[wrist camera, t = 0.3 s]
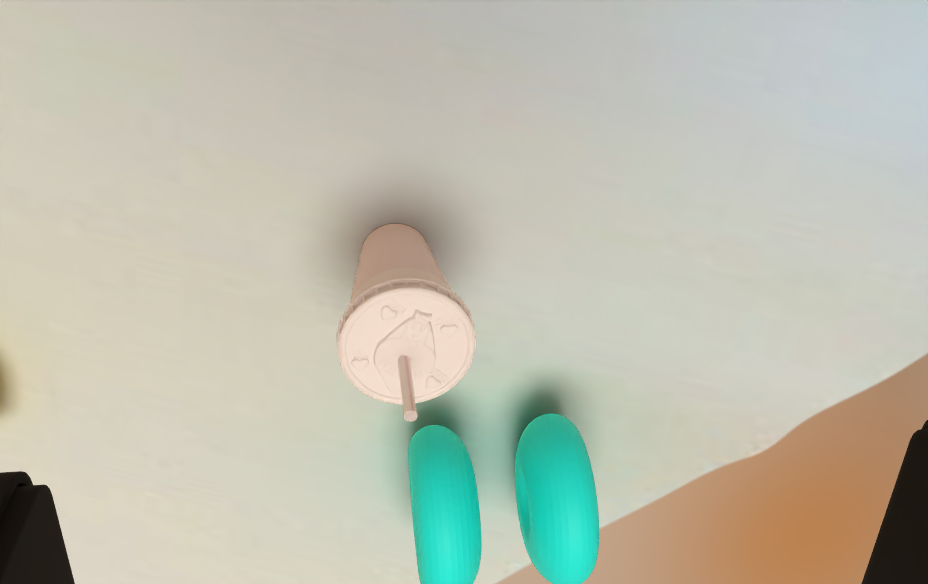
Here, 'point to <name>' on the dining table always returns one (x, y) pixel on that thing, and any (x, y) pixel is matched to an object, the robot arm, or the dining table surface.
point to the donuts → (537, 493)
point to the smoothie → (403, 323)
